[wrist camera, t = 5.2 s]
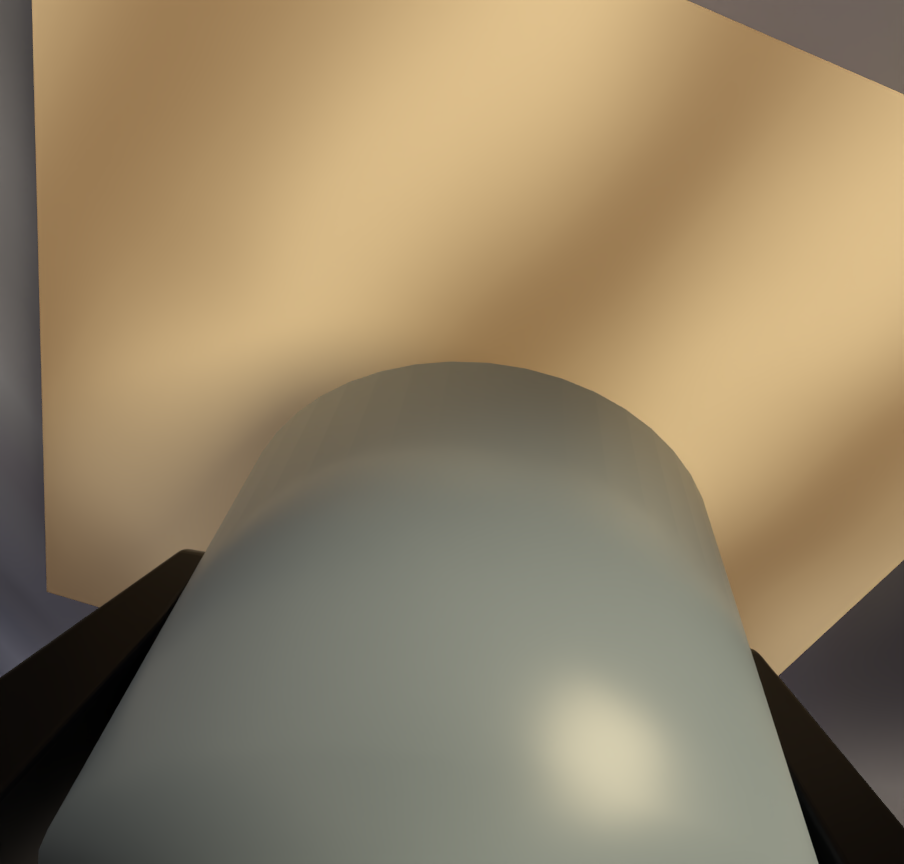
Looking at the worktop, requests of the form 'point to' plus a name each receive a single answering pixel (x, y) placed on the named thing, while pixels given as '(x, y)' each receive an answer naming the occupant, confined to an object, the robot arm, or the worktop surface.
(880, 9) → the worktop surface
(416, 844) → the cap
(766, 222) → the base
